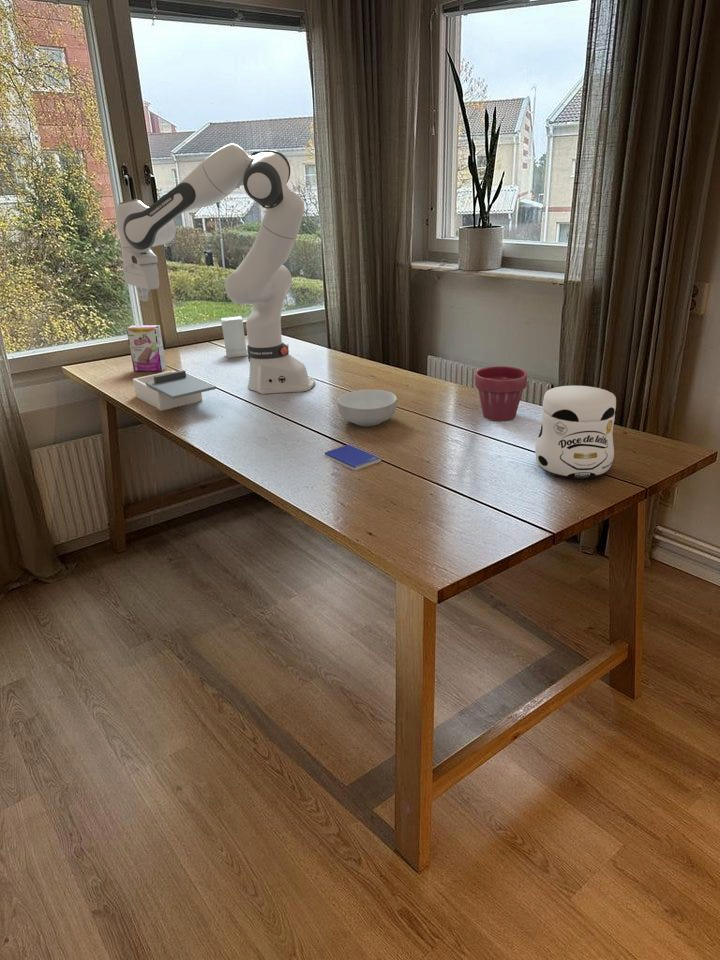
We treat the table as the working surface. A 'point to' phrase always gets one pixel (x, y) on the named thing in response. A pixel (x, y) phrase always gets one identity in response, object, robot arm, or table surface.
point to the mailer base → (160, 394)
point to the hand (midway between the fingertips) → (144, 300)
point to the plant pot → (500, 391)
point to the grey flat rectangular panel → (179, 384)
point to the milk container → (576, 432)
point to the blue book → (352, 457)
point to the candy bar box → (146, 348)
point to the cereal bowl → (367, 406)
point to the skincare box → (234, 336)
